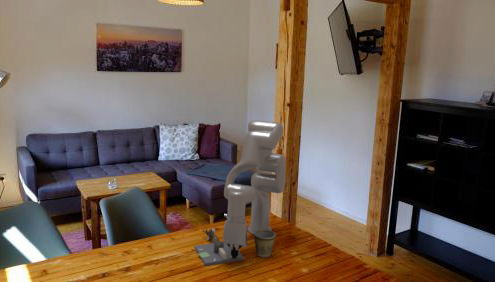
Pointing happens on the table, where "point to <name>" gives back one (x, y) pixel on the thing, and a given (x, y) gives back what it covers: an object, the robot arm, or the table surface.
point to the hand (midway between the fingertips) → (234, 257)
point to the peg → (220, 249)
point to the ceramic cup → (264, 242)
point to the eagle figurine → (211, 235)
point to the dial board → (215, 254)
